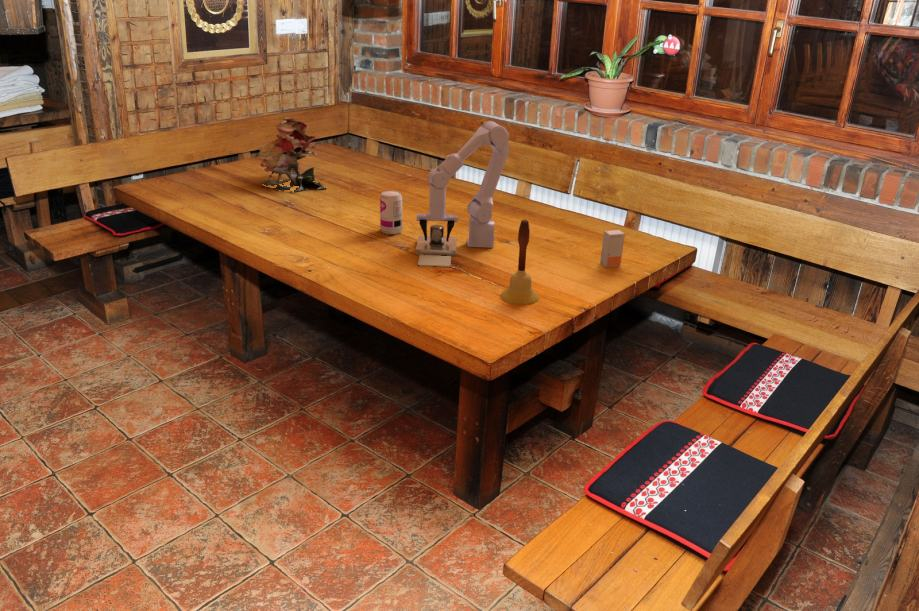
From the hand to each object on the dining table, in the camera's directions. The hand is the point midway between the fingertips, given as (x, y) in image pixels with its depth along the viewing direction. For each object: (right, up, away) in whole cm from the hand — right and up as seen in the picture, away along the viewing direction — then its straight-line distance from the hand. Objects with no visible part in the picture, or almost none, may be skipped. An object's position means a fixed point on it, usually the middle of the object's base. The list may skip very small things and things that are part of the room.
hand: (436, 240), depth 276 cm
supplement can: (-18, +4, +16) cm, 24 cm away
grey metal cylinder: (0, -3, +1) cm, 3 cm away
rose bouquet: (-67, +30, +67) cm, 100 cm away
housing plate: (0, -3, +1) cm, 3 cm away
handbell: (+27, -21, -35) cm, 49 cm away
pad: (0, -8, -10) cm, 13 cm away
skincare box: (+61, -9, -8) cm, 62 cm away
